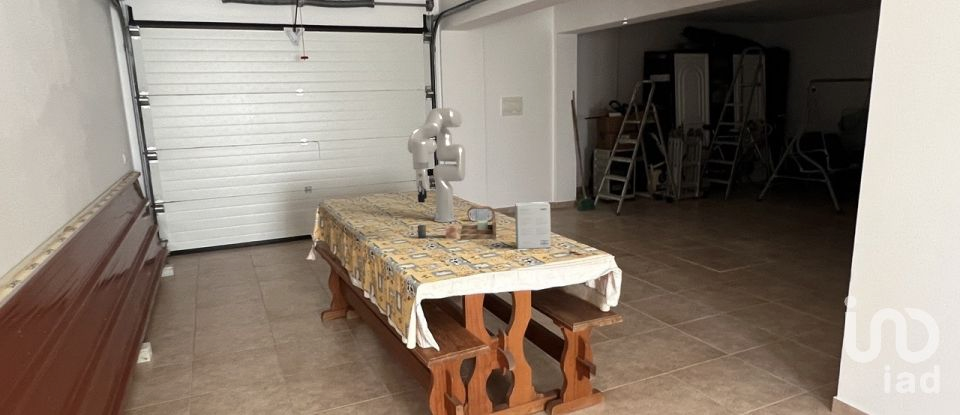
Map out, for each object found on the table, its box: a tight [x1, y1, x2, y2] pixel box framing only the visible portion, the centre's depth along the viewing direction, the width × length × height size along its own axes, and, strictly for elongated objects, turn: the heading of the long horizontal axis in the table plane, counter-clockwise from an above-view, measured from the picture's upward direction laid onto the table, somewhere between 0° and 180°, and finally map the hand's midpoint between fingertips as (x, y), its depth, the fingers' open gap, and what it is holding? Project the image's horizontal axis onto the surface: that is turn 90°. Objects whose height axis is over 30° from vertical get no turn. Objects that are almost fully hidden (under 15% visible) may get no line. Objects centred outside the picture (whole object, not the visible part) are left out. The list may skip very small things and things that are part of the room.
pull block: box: [417, 224, 458, 239], centre depth 290 cm, size 19×5×6 cm, turn 89°
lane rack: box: [459, 212, 497, 241], centre depth 295 cm, size 18×23×8 cm
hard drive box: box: [514, 201, 552, 250], centre depth 267 cm, size 16×8×20 cm, turn 92°
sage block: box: [477, 221, 489, 230], centre depth 301 cm, size 5×5×5 cm
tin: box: [466, 205, 496, 223], centre depth 324 cm, size 15×3×8 cm, turn 84°
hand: (422, 200), depth 288 cm, fingers open, 9 cm apart
